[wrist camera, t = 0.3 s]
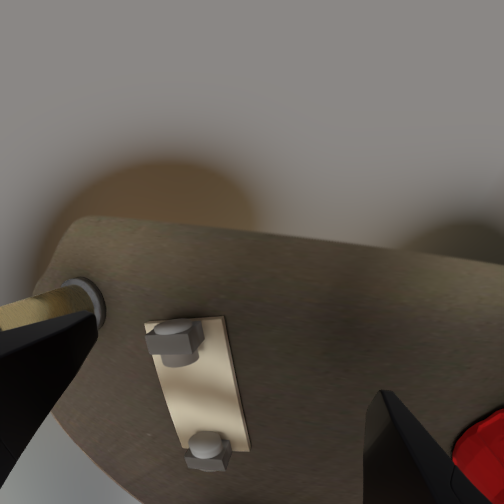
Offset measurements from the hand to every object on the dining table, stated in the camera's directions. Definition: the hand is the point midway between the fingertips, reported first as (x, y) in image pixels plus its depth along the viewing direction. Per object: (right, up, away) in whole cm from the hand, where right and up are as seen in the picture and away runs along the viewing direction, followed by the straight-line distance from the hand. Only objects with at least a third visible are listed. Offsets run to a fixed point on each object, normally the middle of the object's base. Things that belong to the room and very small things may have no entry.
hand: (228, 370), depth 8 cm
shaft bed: (-4, -9, +17) cm, 20 cm away
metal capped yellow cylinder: (-16, -2, +18) cm, 24 cm away
